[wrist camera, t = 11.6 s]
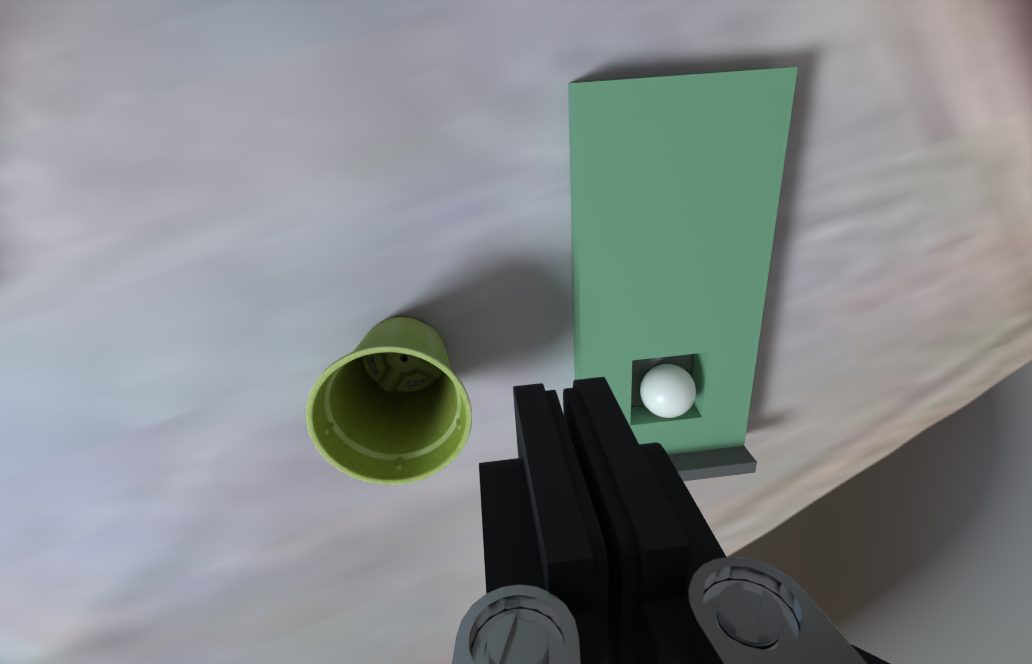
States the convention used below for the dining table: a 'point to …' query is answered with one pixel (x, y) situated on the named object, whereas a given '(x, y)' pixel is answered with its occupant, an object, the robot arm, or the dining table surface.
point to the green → (678, 244)
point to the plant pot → (391, 407)
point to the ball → (668, 390)
